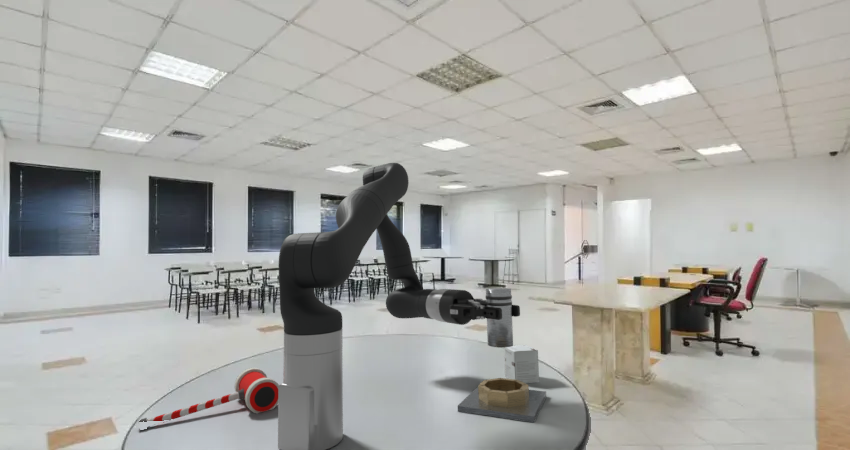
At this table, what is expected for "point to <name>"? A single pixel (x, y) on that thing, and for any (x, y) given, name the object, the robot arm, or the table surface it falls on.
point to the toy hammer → (237, 396)
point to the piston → (500, 329)
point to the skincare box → (521, 363)
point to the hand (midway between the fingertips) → (509, 312)
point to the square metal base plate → (504, 400)
